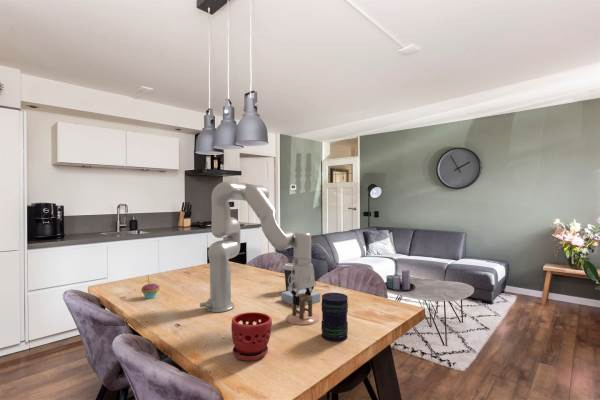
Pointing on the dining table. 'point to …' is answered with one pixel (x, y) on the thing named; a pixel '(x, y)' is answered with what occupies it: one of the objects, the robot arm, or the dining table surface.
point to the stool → (303, 305)
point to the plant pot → (251, 335)
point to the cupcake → (150, 290)
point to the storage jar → (334, 317)
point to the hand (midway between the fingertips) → (302, 302)
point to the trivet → (305, 321)
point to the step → (288, 295)
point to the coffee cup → (288, 274)
